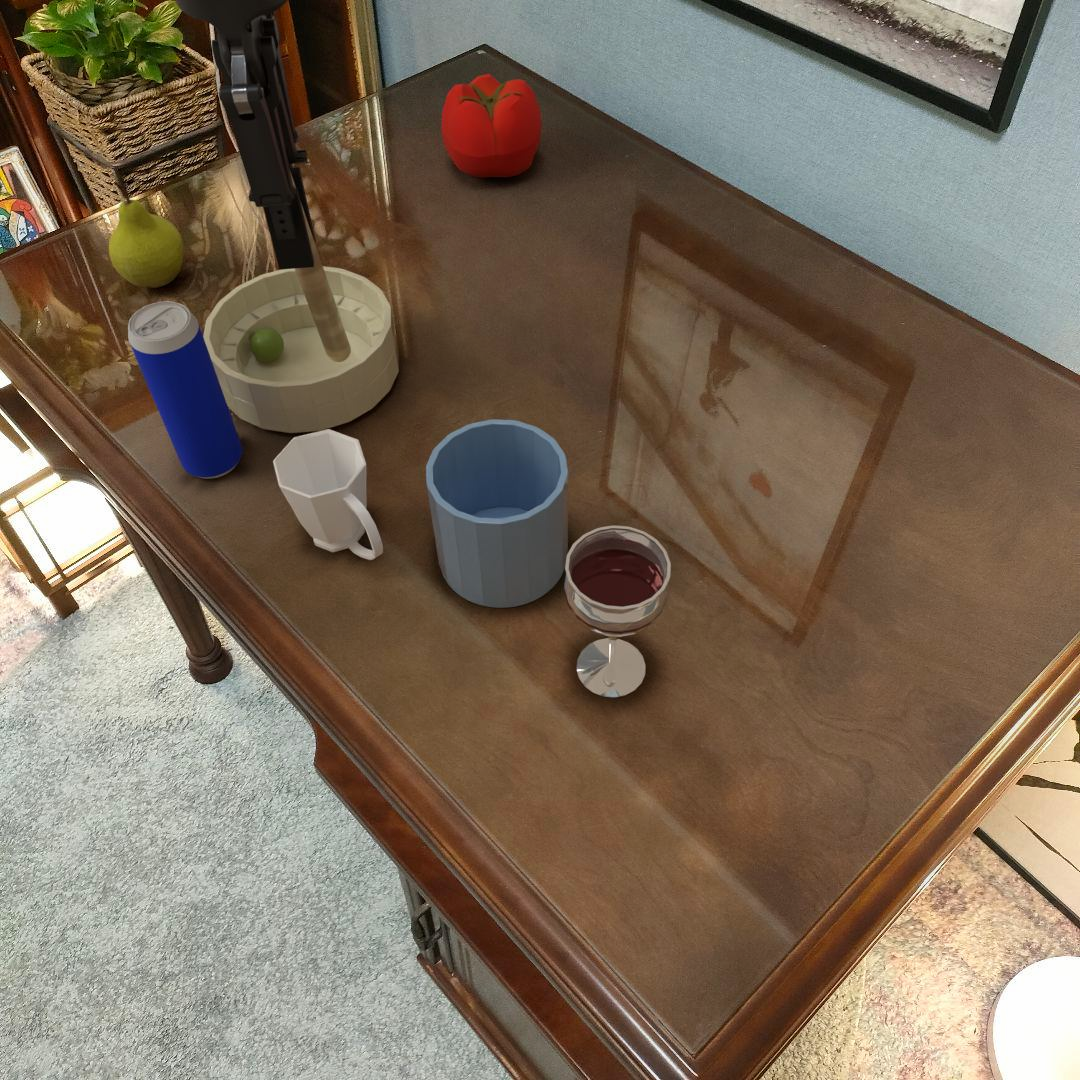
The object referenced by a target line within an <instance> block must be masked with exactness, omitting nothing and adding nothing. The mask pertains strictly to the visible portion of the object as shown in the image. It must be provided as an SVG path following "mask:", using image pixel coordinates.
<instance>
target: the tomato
mask: <svg viewBox="0 0 1080 1080" xmlns="http://www.w3.org/2000/svg"><path fill="white" fill-rule="evenodd" d="M542 128H543V123H542V114H541V108H540V105H539V102H538V100H537V97H536V94H535V93H534V91H533V89H532V88H531V86H530V85H529V84H527V82H526V81H525V80H523V79H520V78H517V79H512V80H511V79H508V80H506V81H503V82H502V83H501V82H499V80H497V79H496V78H495V77H494V76H493V75H491V74H490V73H486V74H482V75H478V76H476V77H475V78H474V79H473V80H472V81H471V82H468V84H467V83H459V84H454V85H453V86H452V87H451V89H450V90H449V91H448V92H447V94H446V97H445V102H444V105H443V108H442V113H441V135H442V139H443V140H442V141H443V144H444V145H443V146H444V148H445V150H446V152H447V154H448V156H449V158H450V159H451V161H452V162H453V164H455V166H456V168H457V169H458V171H459V170H460V172H462V173H464V174H466V175H468V176H469V177H470V176H471V177H475V178H510V177H511V178H512V177H514V176H519V175H520V174H522V173H524V172H525V171H528V169H529V168H530V167H531V166H532V163H533V160H534V157H535V154H536V153H537V152H538V149H539V146H540V143H541V139H542V130H543V129H542Z"/></svg>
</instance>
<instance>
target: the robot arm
mask: <svg viewBox="0 0 1080 1080" xmlns="http://www.w3.org/2000/svg"><path fill="white" fill-rule="evenodd" d="M288 1H289V0H174V2H175V4H176V5H177V7H178V8H179V10H180V11H182V12H183V13H184V14H185V15H187V16H188V17H190V18H192V19H195V20H198V21H199V20H201V21H203V22H206V23H208V24H210V25H211V26H213V27H214V28H215V32H216V37H217V39H212V40H211V51H212V55H213V59H214V63H215V66H216V68H217V69H218V70H219V71H220V73H221V75H222V76H221V77H222V80H223V83H224V85H220V86H219V88H218V97H219V100H220V101H221V105H222V107H223V108H224V111H225V113H226V115H227V118H228V120H229V123H230V126H231V129H232V132H233V133H232V134H233V136H234V139H235V142H236V145H237V148H238V152H239V155H240V158H241V161H242V165H243V168H244V171H245V175H246V179H247V181H248V184H249V188H250V189H249V193H248V201H249V202H250V203H253V202H254V206H255V207H256V208H263V212H264V216H265V221H266V224H267V228H268V232H269V235H270V239H271V243H272V247H273V251H274V254H275V258H276V263H277V266H278V270H281V269H295V268H309V267H314V258H313V254H312V250H311V245H310V241H309V236H308V232H307V228H306V223H305V219H304V214H303V210H304V213H305V216H306V219H307V222H308V224H309V227H310V230H311V233H312V236H313V239H314V242H315V244H316V241H317V240H316V234H315V230H314V226H313V221H312V217H311V213H310V207H309V203H308V199H307V195H306V190H305V185H304V182H303V177H302V171H301V168H300V166H297V167H294V165H297V164H298V165H299V164H307V163H308V152H307V149H298V150H297V147H296V144H297V143H298V138H299V135H298V131H297V130H296V126H295V125H296V124H295V120H294V115H293V110H292V104H291V100H290V94H289V89H288V84H287V80H286V74H285V69H284V64H283V59H282V53H281V50H280V49H281V48H280V44H279V41H280V32H279V27H278V23H277V20H276V18H275V15H276V11H278V10H279V9H281V8H282V7H283V6H285V4H287V2H288ZM290 172H291V173H290ZM291 175H292V178H293V181H294V184H295V187H296V188H295V187H294V186H293V182H292V178H291ZM301 204H302V206H301ZM302 207H303V210H302Z"/></svg>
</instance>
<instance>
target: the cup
mask: <svg viewBox="0 0 1080 1080" xmlns="http://www.w3.org/2000/svg"><path fill="white" fill-rule="evenodd" d="M272 463H273V467H274V471H275V476H276V479H277V483H278V488H279V489H280V490H281V492H282V494H283V496H284V497H285V499H286V501H287V502H288V504H289V505H290V508H291V509H292V511H293V513H294V514H295V517H296V518H297V520H298V523H299V524H300V525H301V526H302V527H303V528H304V530H305V531H306V532H307V533H308V535H309V536H310V537H311V538H312V539H313V544H314V546H316V547H318V548H320V549H323V550H326V551H328V552H330V553H336V552H340V551H343V550H346V549H349V550H350V551H351V552H352V554H354V555H356V556H358V557H360V558H362V559H366V560H368V561H373V560H374V559H376V558H378V557H379V556H381V555H382V554H384V545H383V542H382V541H383V540H382V538H381V535H380V532H379V530H378V527H377V525H376V522H375V521H374V519H373V517H372V516H371V513H370V512H369V511H368V510H367V509H368V508H367V503H368V502H367V501H368V500H367V462H366V459H365V456H364V453H363V449H362V446H361V444H360V440H359V439H358V438H354V437H352V436H349V435H346V434H343V433H341V432H338V431H335V430H333V429H331V428H328V429H324V430H320V431H314V432H311V433H310V432H309V433H307V434H303V435H298V436H294V437H293V438H292V439H291V440H290V441H289V442H288V443H287V444H286V445H285V446H284V448H283V449H282V450H281V451H280V452H279V453H278V454H277V455H276V457H275V458H274V459H273V460H272ZM365 533H366V534H367V537H368V540H369V542H370V546H371V549H368V548H366V547H365V546H362V545H361V544H360V543H359V540H360V539H361V538H362V536H363V535H364V534H365Z"/></svg>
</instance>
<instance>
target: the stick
mask: <svg viewBox="0 0 1080 1080" xmlns="http://www.w3.org/2000/svg"><path fill="white" fill-rule="evenodd" d="M290 173H291V172H290ZM291 178H292V175H291ZM292 182H293V186H294V187H295V184H294V181H293V178H292ZM295 188H296V187H295ZM301 206H302V204H301ZM302 210H303V207H302ZM303 214H304V219H305V223H306V228H307V232H308V236H309V241H310V245H311V250H312V254H313V258H314V267H309V268H295V271H296V274H297V276H298V279H299V282H300V284H301V287H302V290H303V292H304V295H305V298H306V301H307V303H308V306H309V309H310V311H311V314H312V317H313V319H314V322H315V325H316V328H317V330H318V333H319V336H320V338H321V341H322V344H323V346H324V349H325V352H326V354H327V356H328V357H329V358H330V359H331V360H332V361H335V362H342V361H345V360H346V359H347V358H348V357H349V355H350V353H351V347H350V344H349V341H348V338H347V335H346V332H345V329H344V326H343V323H342V321H341V318H340V315H339V312H338V309H337V306H336V303H335V300H334V297H333V294H332V291H331V289H330V286H329V283H328V280H327V277H326V274H325V271H324V268H323V266H324V265H323V263H322V260H321V257H320V254H319V251H318V248H317V245H316V243H315V242H314V239H313V236H312V233H311V230H310V227H309V224H308V222H307V219H306V216H305V213H304V210H303Z"/></svg>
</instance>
